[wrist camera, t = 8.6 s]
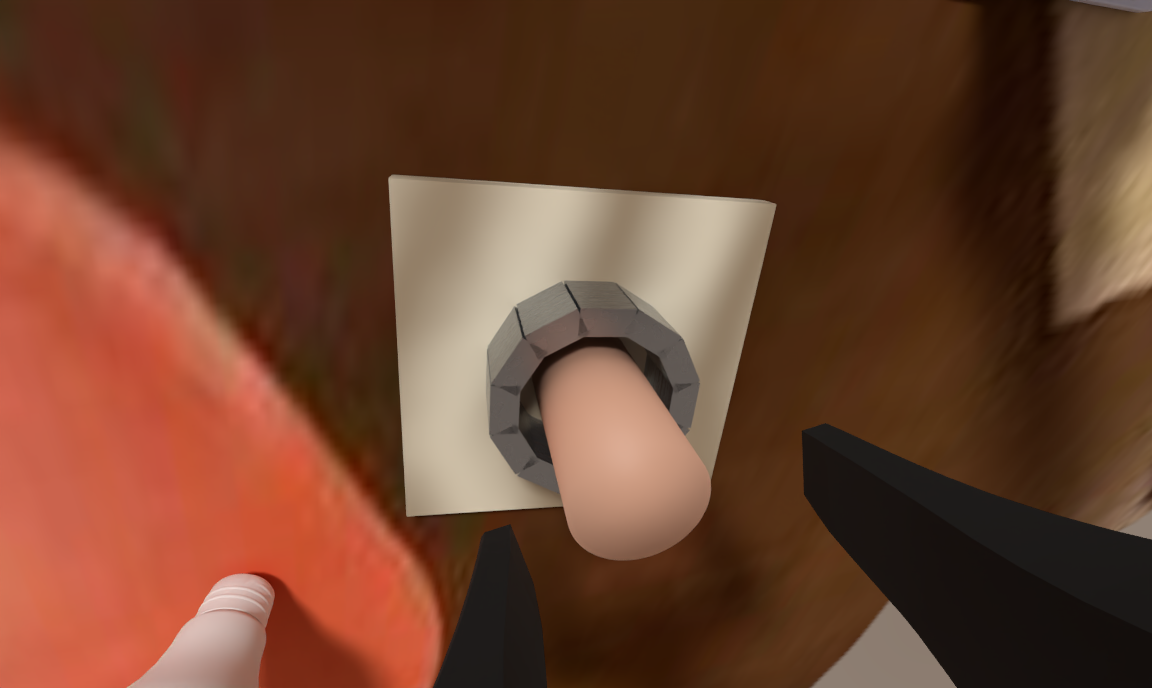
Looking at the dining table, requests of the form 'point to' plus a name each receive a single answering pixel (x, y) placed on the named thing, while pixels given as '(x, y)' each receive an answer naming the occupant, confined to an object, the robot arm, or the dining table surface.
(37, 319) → the dining table surface
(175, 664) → the lightbulb
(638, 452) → the peg
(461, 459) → the socket board
